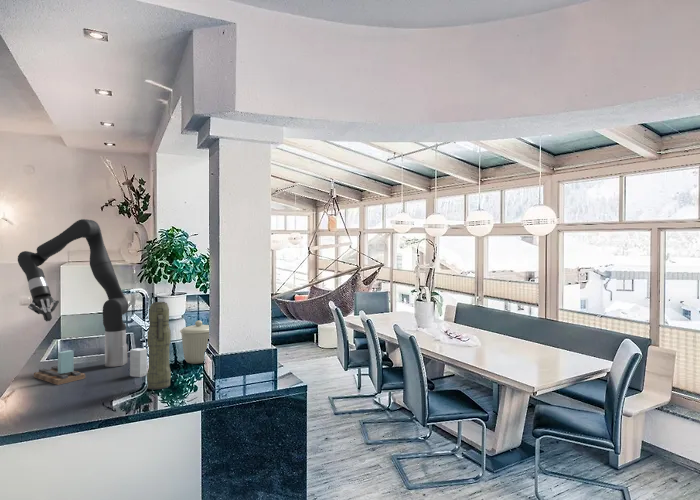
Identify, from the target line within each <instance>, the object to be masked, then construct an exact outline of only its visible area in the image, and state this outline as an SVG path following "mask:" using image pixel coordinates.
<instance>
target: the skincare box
mask: <svg viewBox="0 0 700 500" xmlns="http://www.w3.org/2000/svg"><path fill="white" fill-rule="evenodd" d="M147 373H148V349H147V348H142V347H141V348H140V347H137V348H133V349H130V350H129V376H130V377H133V378H134V377H135V378H142V377H145V376H147Z"/></svg>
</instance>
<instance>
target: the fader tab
mask: <svg viewBox="0 0 700 500" xmlns="http://www.w3.org/2000/svg"><path fill="white" fill-rule="evenodd" d="M74 352H75V351H74V350H72V349H67V350H63V351H57V366H58V373H60V374H65V375H71V372H72V371H75V370H74V368H75V367H74V366H75V365H74V362H75V361H74V360H75V359H74V358H75V357H74V355H75V354H74Z"/></svg>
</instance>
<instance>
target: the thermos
mask: <svg viewBox="0 0 700 500" xmlns="http://www.w3.org/2000/svg"><path fill="white" fill-rule="evenodd" d="M148 311H149V313H148V314H149V315H148V316H149V317H148V321H149V324H148V331H147V347H148V368H147V375H146V376H147V379H146V381H147V389H149V390H162V389H166V388H169V387H170V386H171V379H172V378H171V377H172V375H171V373H172V371H171V367H170V345H171V342H172V341H171V338H172V337H171V334H172V333H171V328H170V323H169V321H170V308H169V305H168V303H167V302H166V301H156V302H155V301H154V302H153V303H151V304H150V307H149V310H148Z"/></svg>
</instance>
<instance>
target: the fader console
mask: <svg viewBox="0 0 700 500" xmlns="http://www.w3.org/2000/svg"><path fill="white" fill-rule="evenodd" d="M33 378H35V379H38V380H42V381H44V382H48V383H50V384H54V385H57V386H60V385H62V384H63V385H64V384H68V383H73V382H76V381H81V380H83V379H86V373H83V372H80V371H76V370H74V371H72V372H71V375H65V374H60V373H58V365H55V366H51V368H50V369H47V368H40V369H38V371H36V372H33Z"/></svg>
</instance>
